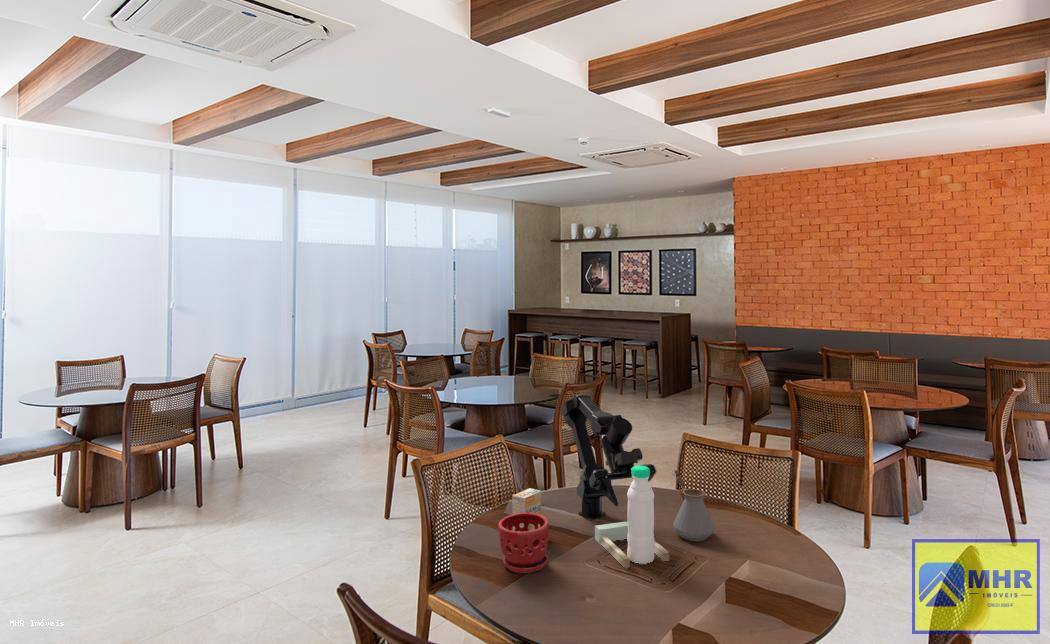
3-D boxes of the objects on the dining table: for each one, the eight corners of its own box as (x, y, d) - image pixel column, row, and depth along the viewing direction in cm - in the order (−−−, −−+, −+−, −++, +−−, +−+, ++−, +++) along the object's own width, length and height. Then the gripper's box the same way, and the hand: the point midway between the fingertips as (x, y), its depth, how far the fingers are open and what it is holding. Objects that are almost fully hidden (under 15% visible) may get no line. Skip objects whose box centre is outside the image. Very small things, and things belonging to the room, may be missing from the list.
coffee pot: (721, 543, 169) (721, 490, 168) (681, 545, 168) (682, 492, 167) (692, 514, 190) (692, 468, 189) (657, 516, 189) (657, 469, 188)
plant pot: (520, 550, 166) (520, 508, 165) (559, 563, 157) (558, 519, 157) (488, 567, 156) (488, 522, 155) (527, 583, 147) (527, 535, 147)
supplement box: (525, 543, 170) (524, 498, 169) (512, 539, 173) (511, 494, 172) (542, 533, 177) (541, 490, 176) (529, 529, 180) (528, 487, 179)
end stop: (595, 539, 172) (594, 525, 172) (635, 533, 176) (635, 520, 176) (599, 543, 170) (599, 529, 169) (640, 537, 173) (640, 524, 173)
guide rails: (599, 543, 170) (599, 534, 169) (640, 537, 173) (640, 529, 173) (624, 568, 154) (624, 559, 154) (669, 561, 158) (669, 552, 158)
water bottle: (654, 566, 155) (654, 471, 154) (626, 564, 157) (626, 470, 155) (654, 554, 162) (654, 463, 161) (627, 552, 164) (627, 462, 162)
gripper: (592, 441, 165) (609, 493, 155) (653, 436, 170) (673, 486, 160) (582, 462, 173) (597, 512, 163) (640, 456, 178) (659, 505, 168)
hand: (632, 503), depth 163 cm, fingers open, 9 cm apart
